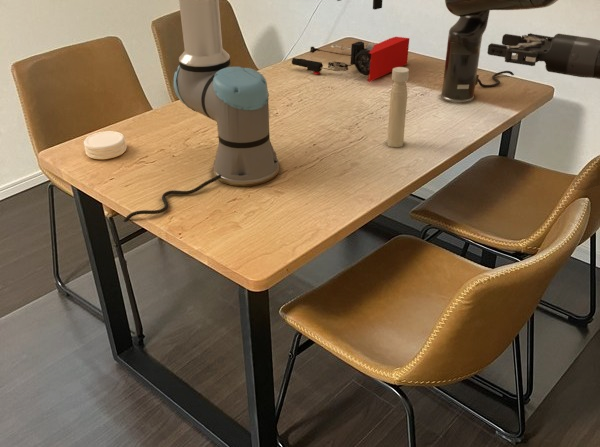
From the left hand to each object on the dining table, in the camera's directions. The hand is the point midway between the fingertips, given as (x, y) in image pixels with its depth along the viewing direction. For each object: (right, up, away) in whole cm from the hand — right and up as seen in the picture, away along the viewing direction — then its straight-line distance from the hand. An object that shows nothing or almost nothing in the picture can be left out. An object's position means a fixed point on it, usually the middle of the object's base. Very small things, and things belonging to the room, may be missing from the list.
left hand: (358, 4), depth 166 cm
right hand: (+26, -21, -35) cm, 48 cm away
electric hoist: (+1, -6, +43) cm, 43 cm away
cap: (+8, -23, -19) cm, 30 cm away
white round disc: (-64, -41, -10) cm, 77 cm away
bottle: (+8, -39, -9) cm, 40 cm away
